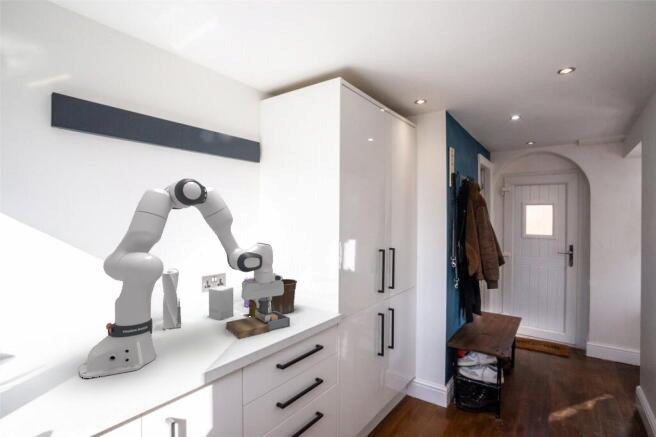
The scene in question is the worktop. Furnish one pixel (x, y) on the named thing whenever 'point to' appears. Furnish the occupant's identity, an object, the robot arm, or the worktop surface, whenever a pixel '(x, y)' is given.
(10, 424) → the worktop surface
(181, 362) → the worktop surface
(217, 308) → the supplement box
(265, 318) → the scraper
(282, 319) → the tray
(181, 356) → the worktop surface
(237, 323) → the board
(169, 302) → the skyscraper
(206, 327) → the worktop surface
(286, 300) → the plant pot
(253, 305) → the condiment
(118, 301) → the robot arm
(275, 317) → the tile
